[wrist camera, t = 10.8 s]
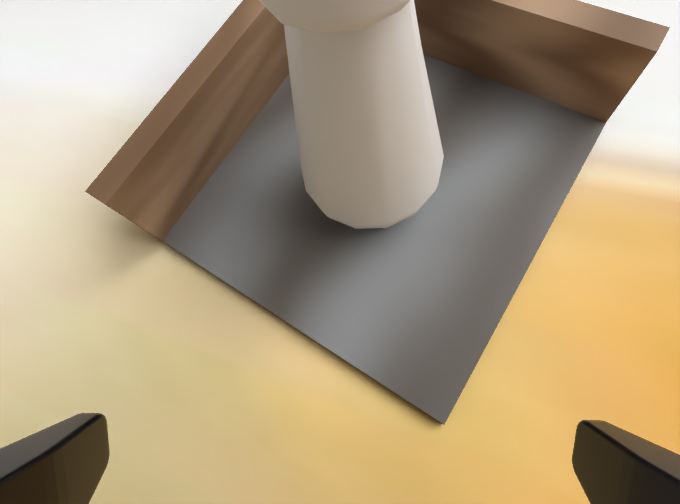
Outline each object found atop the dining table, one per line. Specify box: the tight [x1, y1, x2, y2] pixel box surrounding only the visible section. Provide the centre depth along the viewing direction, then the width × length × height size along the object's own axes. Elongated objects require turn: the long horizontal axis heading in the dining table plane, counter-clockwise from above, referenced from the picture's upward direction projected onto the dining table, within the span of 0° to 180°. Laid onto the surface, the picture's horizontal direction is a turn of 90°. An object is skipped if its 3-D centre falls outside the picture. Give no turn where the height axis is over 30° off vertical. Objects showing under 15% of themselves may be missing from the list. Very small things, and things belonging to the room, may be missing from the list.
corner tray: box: [85, 0, 670, 424], centre depth 18 cm, size 16×16×4 cm
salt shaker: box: [259, 0, 444, 229], centre depth 13 cm, size 6×6×13 cm
